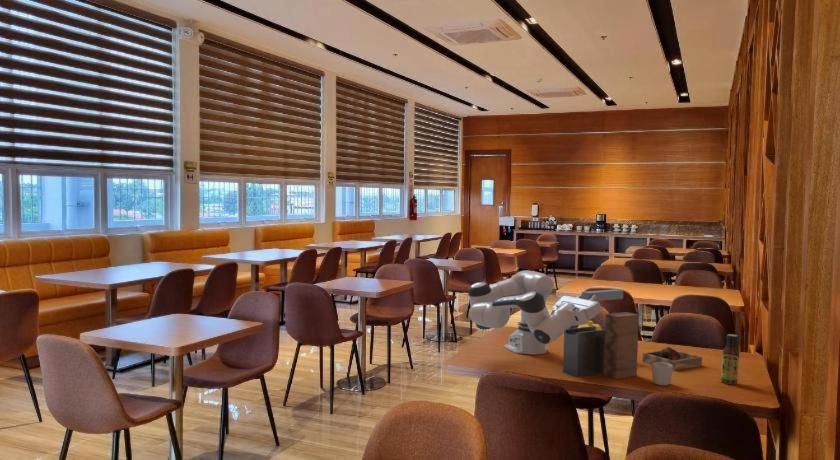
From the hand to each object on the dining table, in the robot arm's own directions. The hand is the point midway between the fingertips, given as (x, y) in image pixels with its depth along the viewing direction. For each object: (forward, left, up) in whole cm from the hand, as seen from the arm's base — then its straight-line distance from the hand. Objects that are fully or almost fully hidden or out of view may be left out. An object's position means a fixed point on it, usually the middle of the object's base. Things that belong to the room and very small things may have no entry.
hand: (590, 295), depth 260 cm
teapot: (-46, +49, -36) cm, 76 cm away
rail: (0, +7, -2) cm, 7 cm away
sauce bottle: (+28, +51, -35) cm, 68 cm away
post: (0, +19, -35) cm, 40 cm away
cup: (+15, +25, -35) cm, 46 cm away
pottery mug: (-6, +55, -36) cm, 66 cm away
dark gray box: (-11, +9, -35) cm, 38 cm away
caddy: (-4, +56, -35) cm, 66 cm away
